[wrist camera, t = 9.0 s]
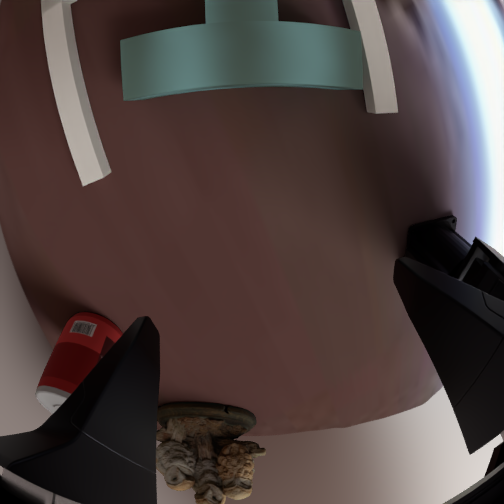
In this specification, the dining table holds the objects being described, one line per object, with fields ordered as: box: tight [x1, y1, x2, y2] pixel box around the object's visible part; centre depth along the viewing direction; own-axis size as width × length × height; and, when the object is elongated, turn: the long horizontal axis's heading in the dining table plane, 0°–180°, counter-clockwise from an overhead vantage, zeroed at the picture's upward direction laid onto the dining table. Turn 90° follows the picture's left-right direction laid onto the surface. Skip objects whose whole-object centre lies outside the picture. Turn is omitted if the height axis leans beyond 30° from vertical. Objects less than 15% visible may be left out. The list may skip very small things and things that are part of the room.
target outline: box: [41, 0, 398, 186], centre depth 13 cm, size 24×18×2 cm
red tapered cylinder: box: [36, 312, 123, 414], centre depth 23 cm, size 8×8×11 cm
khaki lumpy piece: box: [156, 402, 266, 504], centre depth 32 cm, size 18×12×17 cm, turn 84°
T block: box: [120, 0, 363, 101], centre depth 12 cm, size 14×12×4 cm
